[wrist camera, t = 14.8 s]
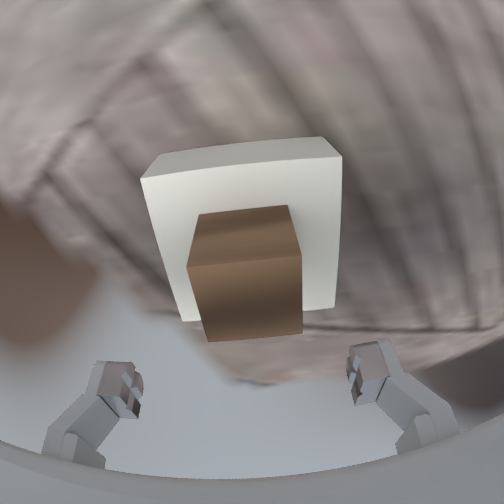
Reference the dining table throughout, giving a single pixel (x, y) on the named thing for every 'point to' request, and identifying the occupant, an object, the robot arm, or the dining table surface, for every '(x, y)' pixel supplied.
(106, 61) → the dining table surface
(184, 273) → the base block
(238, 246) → the walnut cube
